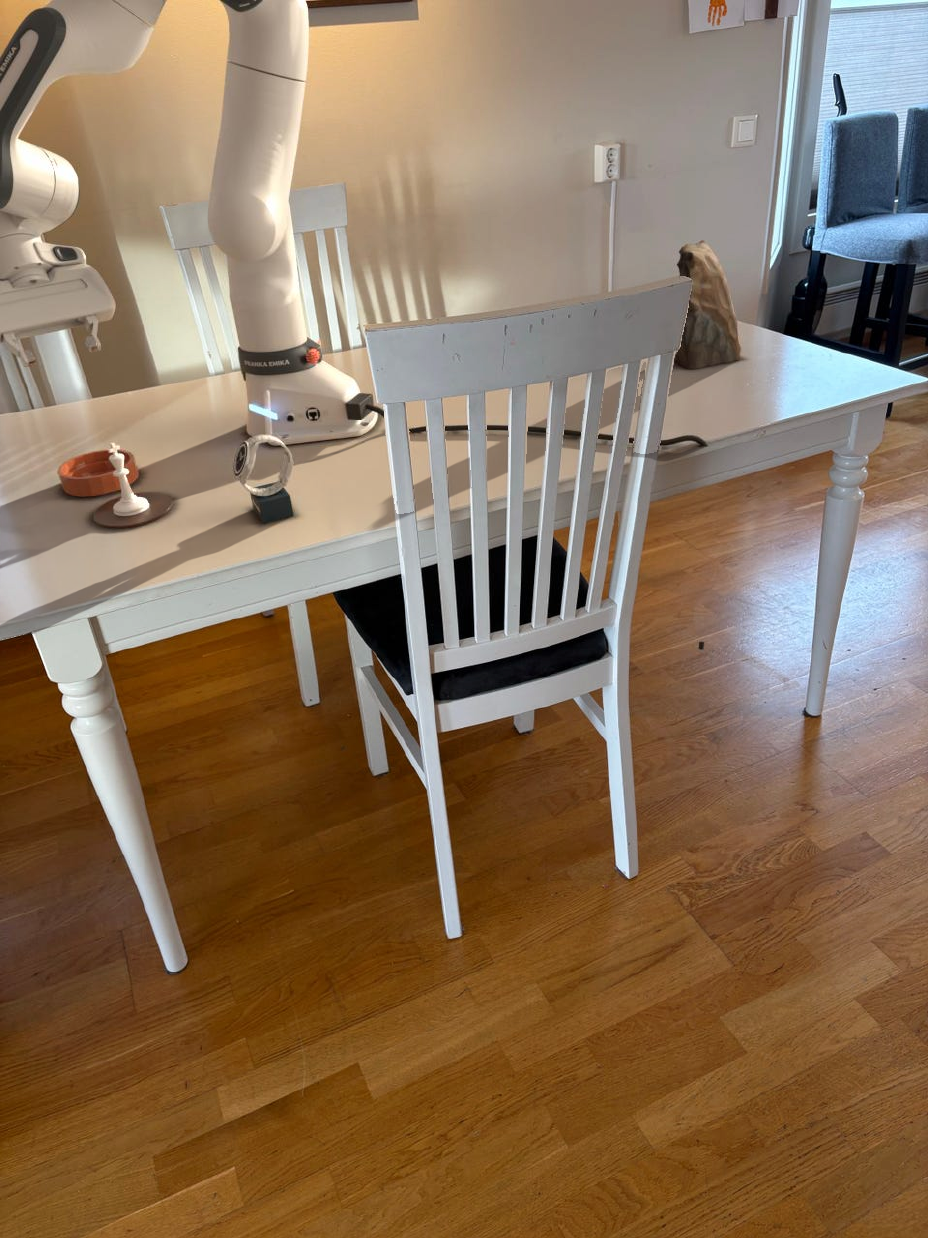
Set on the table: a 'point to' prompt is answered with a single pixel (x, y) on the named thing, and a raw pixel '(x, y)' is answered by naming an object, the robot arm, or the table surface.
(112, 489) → the dish
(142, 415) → the table surface
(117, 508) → the chess piece
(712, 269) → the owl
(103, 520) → the coaster
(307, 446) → the table surface
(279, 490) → the watch
